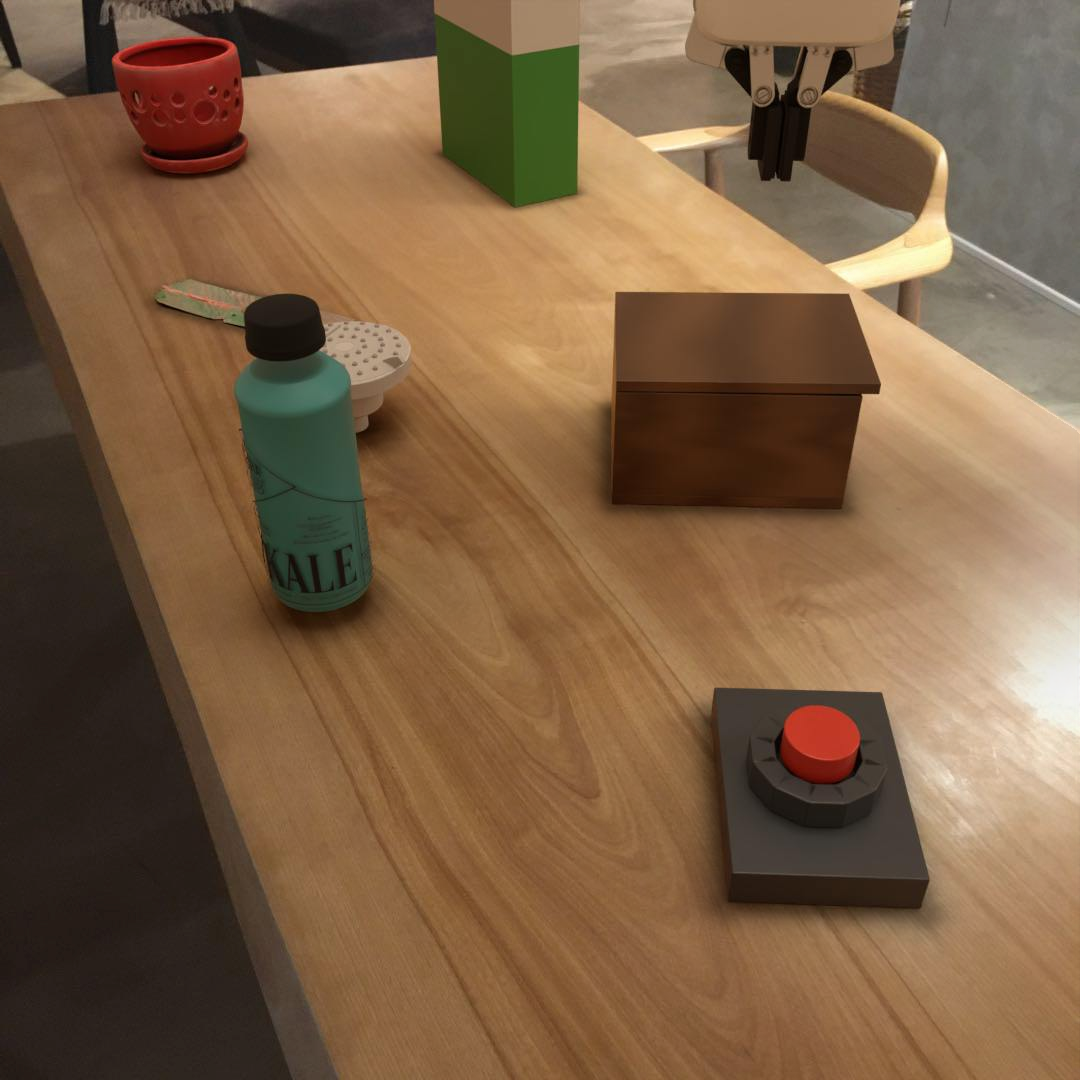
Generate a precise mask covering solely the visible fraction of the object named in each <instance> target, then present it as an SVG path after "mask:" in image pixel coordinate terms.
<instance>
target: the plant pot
mask: <svg viewBox="0 0 1080 1080" xmlns="http://www.w3.org/2000/svg"><path fill="white" fill-rule="evenodd" d="M111 64H112V67H113V68H112V69H113V73H114V74H113V75H114V78H115V82H116V86H117V89H118V92H119V96H120V98H121V102H122V105H123V108H124V110H125V112H126V115H127V116H128V118H129V121H130V123H131V125H132V126H133V128H134V130H135V131H136V133H137V134H138V135H139V137H140V139H141V140H142V141H143V142H144V144H143V145H142V146H141V148H140V149H141V150H140V152H141V156H142V158H143V160H144V161H145V162H146V163H147V164H148V165H149V166H151V167H153V168H155V169H157V170H158V171H163V172H166V173H170V174H185V175H186V174H189V175H190V174H200V173H208V172H214V171H216V170H217V171H218V170H220V169H223V168H230V167H232V166H233V164H234V163H236V162H237V161H238V160H240V159H241V158H242V157H243V156H244V154H245V153H246V151H247V149H248V146H249V140H248V137H247V135H246V134H245V133H243V132H242V131H240V129H241V128H240V127H241V124H242V120H243V115H244V106H245V104H244V103H245V101H244V100H245V97H244V90H243V89H244V87H243V81H242V68H241V62H240V56H239V52H238V48H237V46H236V44H235V43H233V42H232V41H230V40H227V39H224V38H219V37H213V36H212V37H209V36H183V37H182V36H181V37H168V38H161V39H155V40H150V41H145V42H141V43H138V44H135V45H131V46H129V47H126V48H124V49H122V50H120V51H118V52H116V53H115V54H114V55H113V57H112V58H111ZM136 98H137V99H138V101H137V99H136Z"/></svg>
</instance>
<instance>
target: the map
mask: <svg viewBox="0 0 1080 1080" xmlns="http://www.w3.org/2000/svg"><path fill="white" fill-rule="evenodd" d="M159 290H160V291H158V293H157V294H156V295H155V296H154V297H155V300H156V301H157V302H158V303H161V304H164V305H166V306H169V307H171V308H175V309H178V310H181V311H184V312H187V313H190V314H194V315H197V316H201V317H203V318H207V319H212V320H223V323H225V324H226V323H227V324H231V325H236V326H241V327H245V324H244V312H245V309H246V308H247V307H248V306H249V305H250V304H251V303H252V302H254V301H256V300H258V299H260V298H263V297H264V296H257V295H254V294H250V293H245V292H240V291H237V290H232V289H229V288H225V287H221V286H217V285H212V284H209V283H206V282H201V281H198V280H195V279H192V278H188V279H186V280H183V281H182V282H181V281H176V282H175V283H173V284H171V283H170V284H168V285H165V284H162V285H161V287H160V289H159ZM319 310H320V314H321V319H322V324H323V325H325V324H328V323H337V322H344V321H356V320H357V319H356V318H353V317H349V316H346V315H345V316H344V315H341V314H337V313H333V312H329V311H326V310H322V309H319Z"/></svg>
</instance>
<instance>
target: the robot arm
mask: <svg viewBox="0 0 1080 1080" xmlns="http://www.w3.org/2000/svg"><path fill="white" fill-rule="evenodd" d="M900 5H901V0H692V7H693V12H694V14H693V16H692V20H691V24H690V26H689V30H688V33H687V37H686V39H685V42H684V43H685V44H684V51H685V56H686V58H687V59H688V60H689V61H690V62H693V63H697V64H701V65H704V66H708V67H712V68H715V69H721V70H725V71H727V72H728V73H729V74H730V75H731V76H732V78H733V79H734V80H735V81H736V82H737V83H738V84H739V86H740V87H741V88H742V90H744V91H745V93H746V94H747V95H748V96H749V97H750V98H751V111H750V112H751V113H750V122H749V131H748V141H747V160H748V161H757V168H758V173H759V179H760V181H761V182H771V180H772V179H773V180H774V179H775V178H776V179H777V180H779V181H780V182H785V183H787V182H791V181H792V174H793V166H794V162H804V161H805V157H806V152H807V151H806V150H807V144H808V136H809V129H810V122H811V113H812V108H813V107H815V106H816V105H817V104H818V103H819V102H820V99H821V97H822V96H823V95H824V94H825V93H827V92H828V90H830V89H832V87H834V85H836V84H837V83H839V81H840V80H841V79H843V78H844V77H845V76H846V75H847V74H848V73H851V72H854V71H856V72H860V71H863V70H867V69H873V68H876V67H881V66H886V65H888V64H890V63H891V62H892V61H893V59H894V57H895V43H894V29H895V25H896V22H897V19H898V15H899V11H900ZM774 47H800V49H799V54H798V58H797V60H796V64H795V69H794V72H793V74H792V75H793V76H792V79H791V80H790V82H788V83H787V85H786V89H785V90H784V94H781V95H780V90H779V87H778V84H777V82H776V80H775V59H774V57H775V56H774Z"/></svg>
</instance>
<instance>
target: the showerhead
mask: <svg viewBox="0 0 1080 1080" xmlns="http://www.w3.org/2000/svg"><path fill="white" fill-rule="evenodd" d="M323 326H324V329H325V334H326V342H325V344H324V346H323V347H322V348H321V349H320V350H319V351H322V352H324V353H326V354H327V355H329V356H331V357H333V358H334V359H336V360H337V361H338V362H340V363H341V364H342V365H343V366H344V367H345V368H346V369H347V371H348V373H349V375H350V378H351V388H350V389H351V398H352V407H353V416H354V424H355V433H357V434H358V433H361V432H363V431H365V430H366V429H367V428H368V427H369V415H371V414H373V413H375V412H377V411H378V410H379V409H380V408H381V407H382V405H383V403H384V401H385V399H384V398H385V397H384V393H386V392H388V391H389V390H392V389H393V388H395V387H397V386H398V385H399V384H401V383H402V381H404V380H406V378H407V377H408V375H409V374H410V372H411V370H412V348H411V343H410V341H409V340H408V338H407V337H406V336H405V335H404V334H403V333H401V332H400V331H398V330H396V328H393V327H390V326H388V325H385V324H380V323H376V322H370V321H365V320H359V321H356V320H355V321H344V322H337V323H328V324H325V325H323Z"/></svg>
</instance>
